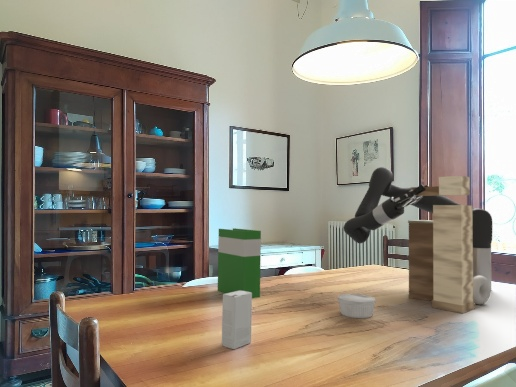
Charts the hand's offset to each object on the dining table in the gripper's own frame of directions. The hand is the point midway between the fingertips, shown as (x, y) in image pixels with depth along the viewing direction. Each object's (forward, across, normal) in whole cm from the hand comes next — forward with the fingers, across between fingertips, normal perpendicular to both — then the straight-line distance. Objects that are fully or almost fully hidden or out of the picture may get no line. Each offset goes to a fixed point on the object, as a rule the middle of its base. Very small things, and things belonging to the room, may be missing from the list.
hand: (426, 187), depth 138 cm
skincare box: (-27, -78, +31) cm, 88 cm away
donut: (-10, +12, +42) cm, 44 cm away
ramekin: (-26, -32, +32) cm, 52 cm away
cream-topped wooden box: (-24, +10, +33) cm, 42 cm away
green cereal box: (-65, -43, +9) cm, 78 cm away
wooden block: (-12, 0, +39) cm, 41 cm away
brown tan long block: (+2, 0, +5) cm, 5 cm away
